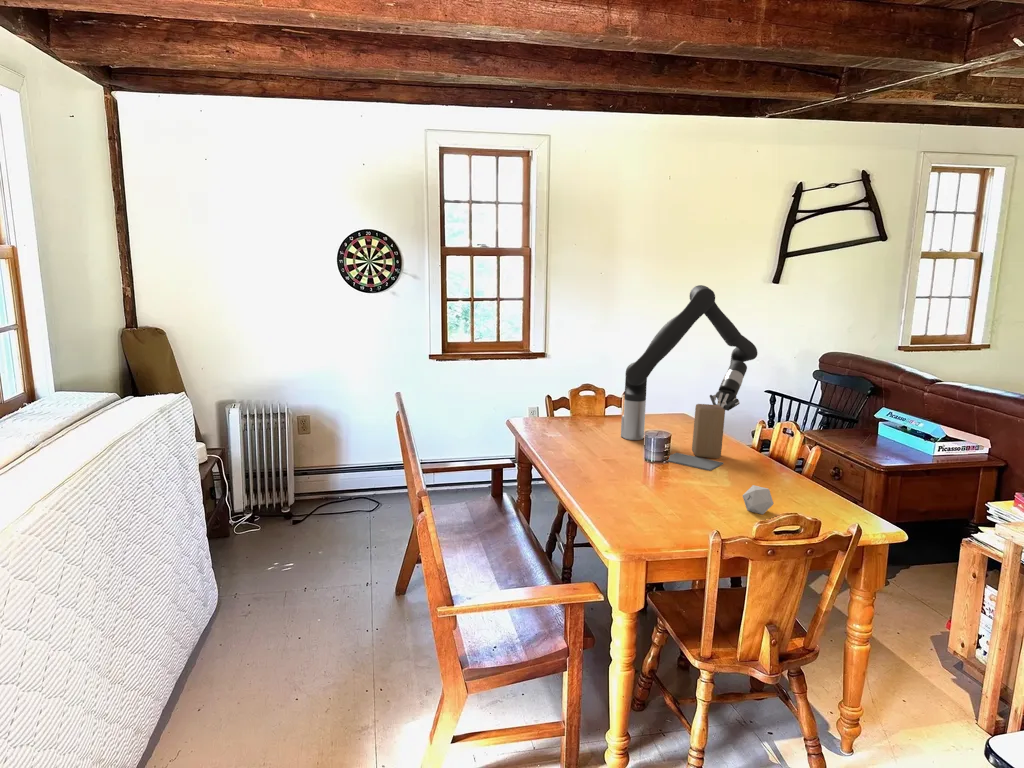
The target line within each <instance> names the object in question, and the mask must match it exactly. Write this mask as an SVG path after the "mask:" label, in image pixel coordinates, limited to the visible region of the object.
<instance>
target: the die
mask: <svg viewBox="0 0 1024 768" xmlns="http://www.w3.org/2000/svg"><path fill="white" fill-rule="evenodd" d="M741 496H742V500H743V501H744V505H745V507H746V511H748V512H751V513H756V514H759V515H764V514H765V513H766V512H767V511H768V510H769V509H770V508H771V507H772V506H773V505H774V501H773V497H772V494H771V491H770V488H768V487H761V486H759V485H754V484H752V485H751V487H749V488H748V490H746V491H745V492H744V493H743V494H742V495H741Z"/></svg>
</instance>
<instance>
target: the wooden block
mask: <svg viewBox="0 0 1024 768" xmlns="http://www.w3.org/2000/svg"><path fill="white" fill-rule="evenodd" d="M694 411H695V412H694V421H693V433H692V444H691V451H692V453H693V454H694V456H695V457H700V458H707V459H710V458H711V459H720V458H721V456H722V449H723V439H724V438H723V437H724V428H725V427H724V425H725V415H726V410H725V409H723V408H722V407H721V406H719V405H713V404H705V403H697V404H695V410H694Z"/></svg>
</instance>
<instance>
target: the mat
mask: <svg viewBox="0 0 1024 768" xmlns="http://www.w3.org/2000/svg"><path fill="white" fill-rule="evenodd" d="M667 462H668V463H673V464H678V465H681V466H686V467H691V468H693V469H694V468H695V469H699V470H704V471H709V472H711V471H714V470H715V469H717V468H718V467H720V466H723V465H724V462H723V461H717V460H713V459H710V458H705V457H697V456H696V455H691V454H685V453H680V452H674V453H672V454H670V457H669V459H668V461H667Z"/></svg>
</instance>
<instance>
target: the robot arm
mask: <svg viewBox="0 0 1024 768" xmlns="http://www.w3.org/2000/svg"><path fill="white" fill-rule="evenodd" d="M703 315H704V316H706V318H707V319H708V320H709V322H710V323H711V324H712V325H713V327H714V328H715V330H716V332H717V333H718V334H719V336H720V337H721V339H723V341H724V342H725V343H726V345H727V346H729V347H733V348H734V347H735V348H734V349H733V350H732V352H731V354H730V355H731V356H730V364H729V366H728V369H727V371H726V373H725V374H724V377H723V379H722V380H721V383H720V385H719V388H718V391H716V392H715V394H714V395H712V394H710V395H709V398H710V401H711V402H712V405H719V406H721V407H722V408H723V409H725V411H727V412H729V411H730V410H732V409H733V408H735V407H737V406H739V405H740V400H739V398H737V395H738V394H739V390H740V389H741V386H742V383H743V380H744V377H745V376H746V374H747V369H748V366H747V364H746V362H749V361H753V360H754V359H756V358H757V356H758V354H759V353H758V349H757V347H756V345H755V344H754V343H753V342H752V341H751V340H749V339H748V338H747V337H745V336H744V335H743V334H742V333H741V332H740V331H739V330H738V328H737V327H736V326H735V325H734V323H733V322H732V320H730V318H728V316H727V315H726V314H725V313H724V311H723V310H721V309H720V307H719V306H718V304H717V302H716V294H715V292H714V290H712V289H711V288H709V287H708V286H705V285H695V286H694V287H692V289H691V290H690V292H689V303H688V304H687V305H686V306H685V308H683V309H682V311H680V313H678V314H676V315H675V316H674V317H673V318H671V319H670V320H668V321H667V322H666V323H665V324H664V325H663V326H662V327H661V329H659V331H658V332H657V333H656V334H655V335H654V337H653V338H652V340H650V341H651V342H650V343H649V345H648V347H647V348H646V349H645V351H644V353H643V354H642V355H640V357H639V358H637V360H636V361H634V362H631V363H629V364H628V366H627V367H626V370H625V379H624V381H625V382H624V383H625V384H624V397H623V398H624V402H623V408H624V409H623V415H621V422H620V424H621V425H620V437H621V438H623V439H625V440H630V441H640V440H644V439H643V437H644V438H645V424H646V422H645V421H646V405H647V400H646V399H647V398H646V397H647V384H648V377H649V376H650V374H651V373H652V372H653V371H654V369H655V368H656V366H657V365H658V364H659V363H660V362H661V361H662V360H663V359H664V358H665V357H666V356H667V355H668V354H669V353H670V352H671V351H672V350H673V349H674V348H675V347H676V345H678V344H679V342H680V341H681V340H682V339H683V338H684V336H685V335H686V334H687V333H688V332H689V330H690V329H691V328H692V327H693V326H694V325H695V323H697V321H698V320H699V319H700V318H701V317H702V316H703ZM716 400H717V403H716Z"/></svg>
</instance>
